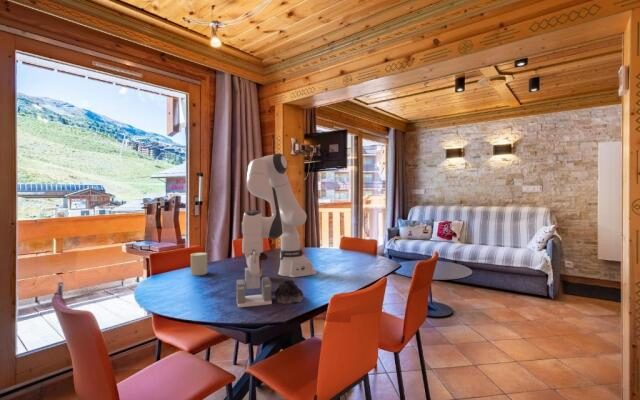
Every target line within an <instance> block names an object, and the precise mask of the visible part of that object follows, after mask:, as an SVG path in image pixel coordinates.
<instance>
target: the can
mask: <svg viewBox="0 0 640 400" xmlns="http://www.w3.org/2000/svg"><path fill="white" fill-rule="evenodd" d="M206 274H208V253H207V252H194V253H191V254H190V275H191V276H205V275H206Z"/></svg>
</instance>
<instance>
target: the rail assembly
mask: <svg viewBox="0 0 640 400" xmlns="http://www.w3.org/2000/svg"><path fill="white" fill-rule="evenodd" d="M235 298H236V304H237V308H246V307H248V308H249V307H255V306H256V307H257V306H264V305H265V306H266V305H272V303H273V302H272V281H271V278H270V277H265V276H264V277H261V294H254V295H253V294H251V295H246V288H245V278H243V279H236V297H235Z"/></svg>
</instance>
